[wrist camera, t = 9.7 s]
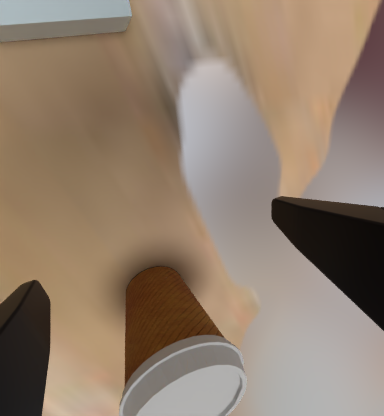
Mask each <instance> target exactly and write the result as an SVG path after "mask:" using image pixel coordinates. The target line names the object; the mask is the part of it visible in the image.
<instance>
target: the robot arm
mask: <svg viewBox="0 0 384 416" xmlns="http://www.w3.org/2000/svg"><path fill="white" fill-rule="evenodd" d="M271 213H272V220H273V222H274V223H275V224H276V225H277V226H278V228H279V229H280V230H281V231H282V232H283V233H284V235H285V236H286V237H287V238H288V239H289V240H290V242H291V243H292V244H293V245H294V246H295V247H296V248H297V249H298V250H299V251H300V252H301V253H302V254H303V255H304V256H305V257H306V258H307V259H308V260H310V262H312V263H313V264H314V265H315V266H316V267H317V268H318V269H319V270H320V271H321V272H322V273H323V274H324V275H325V276H326V277H327V278H328V279H329V280H331V281H332V282H333V283H334V284H335V285H336V286H337V287H338V288H339V289H340V290H341V291H343V293H344V294H345V295H346V296H347V297H348V298H350V299H351V300H352V301H353V302H354V303H355V304H356V305H357V306H358V307H359V308H360V309H361V310H362V311H363V312H364V313H365V314H366V315H367V316H369V317H370V318H371V319H372V320H373V321H374V322H375V323H376V324H377V325H378V326H379V327H380V328H381V329H382V330H383V331H384V207H381V208H380V207H376V206H367V205H358V204H349V203H339V202H330V201H320V200H312V199H302V198H293V197H284V196H281V197H278V198H275V199H273V200H272V211H271ZM49 354H50V299H49V297H48V295H47V294H46V292H45V290H44V289H43V287H42V286H41V284H40V282H39V281H37V280H32V281H30V282H27V283H24V284H22V285H20V286H19V287H18V288H17V289H16V290H15V291H14V292H13V293H12V294H11V295H10V296H9V297H8V298H7V299H6V300H4V301H3V302H2V303H1V304H0V416H42V409H43V401H44V393H45V385H46V378H47V370H48V362H49Z"/></svg>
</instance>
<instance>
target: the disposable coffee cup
mask: <svg viewBox="0 0 384 416" xmlns="http://www.w3.org/2000/svg"><path fill="white" fill-rule="evenodd" d="M243 363H244V361H243V356H242V354H241V352H240V351H239V349H238V348H237V347H236V346H235V345H233V344H231V342H229V341H228V340H226V339H225V338H224V336H223V335H222V334H221V332H220V331H219V330H218V328H217V327H216V325H215V324H214V323H213V321H212V320H211V319H210V317H209V316H208V314H207V313H206V312H205V310H204V309H203V307H202V306H201V305H200V303H199V302H198V301H197V299H196V298H195V296H194V295H193V294H192V293H191V291H190V289H188V287H187V285H186V284H185V282H183V280H182V278H181V277H180V275H179V274H178V273H177V272H176V271H175V270H173V269H172V268H168V267H162V266H161V267H153V268H149V269H147V270H144V271H143V272H141V273H139V274H138V275H137V276H136V277H134V278H133V280H132V281H131V282H130V284H129V285H128V287H127V290H126V332H125V388H124V391H123V395H122V399H121V402H120V409H119V416H228V415H229V414H230V413H231V412H232V410H233V409H234V408H235V407H236V406H237V404H238V403H239V402H240V400H241V398H242V396H243V395H244V392H245V390H246V385H247V378H246V375H245V371H244V368H243Z"/></svg>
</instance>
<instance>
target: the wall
mask: <svg viewBox="0 0 384 416" xmlns="http://www.w3.org/2000/svg"><path fill="white" fill-rule="evenodd" d="M131 18H132V13H131V8H130V3H129V0H0V42H10V41H22V40H33V39H44V38H56V37H67V36H79V35H90V34H102V33H113V32H125V31H126V29H127V26H128V24H129V22H130V20H131Z"/></svg>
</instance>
